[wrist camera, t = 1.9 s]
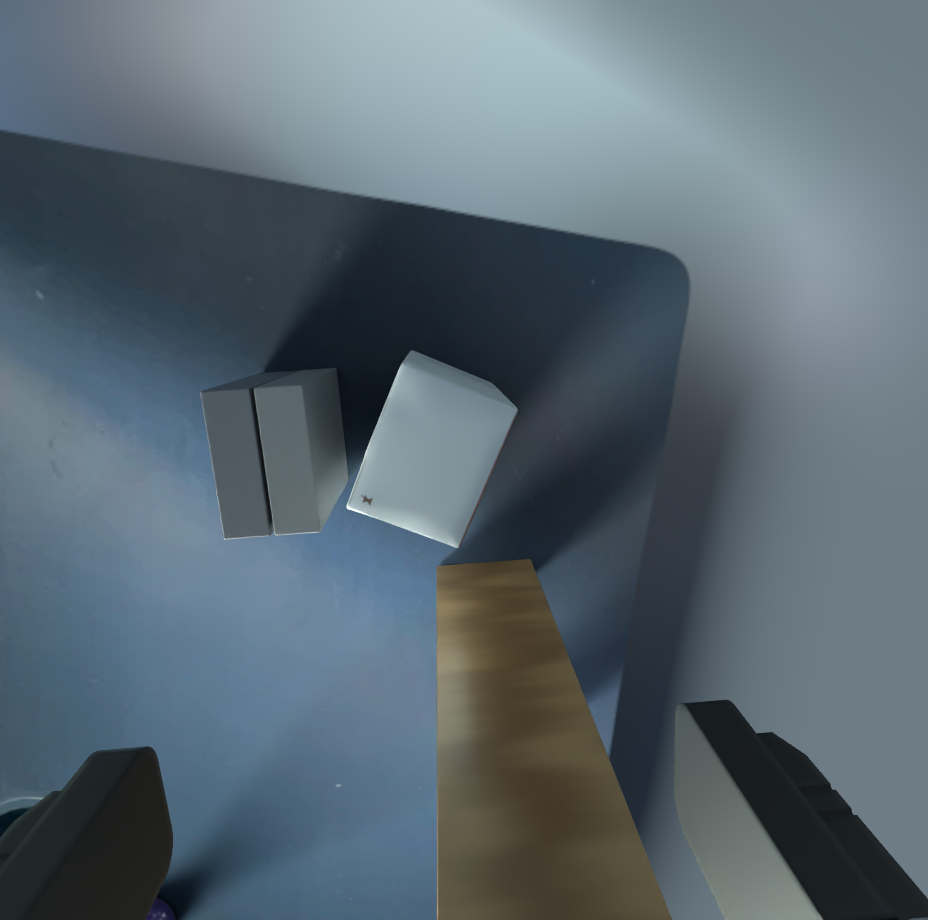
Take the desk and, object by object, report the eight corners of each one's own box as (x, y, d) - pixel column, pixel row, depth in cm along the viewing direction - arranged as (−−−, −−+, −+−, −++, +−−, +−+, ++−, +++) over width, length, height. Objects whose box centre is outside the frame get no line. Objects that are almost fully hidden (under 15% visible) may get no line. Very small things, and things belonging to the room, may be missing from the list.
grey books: (336, 367, 42) (302, 384, 31) (349, 480, 44) (320, 532, 33) (260, 373, 42) (199, 391, 31) (275, 486, 44) (223, 539, 33)
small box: (452, 486, 44) (459, 553, 32) (369, 454, 44) (341, 510, 31) (496, 381, 43) (521, 408, 30) (410, 346, 42) (399, 358, 29)
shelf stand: (530, 558, 46) (675, 925, 18) (538, 734, 49) (669, 1270, 21) (436, 565, 46) (437, 948, 18) (450, 741, 49) (469, 1293, 21)
